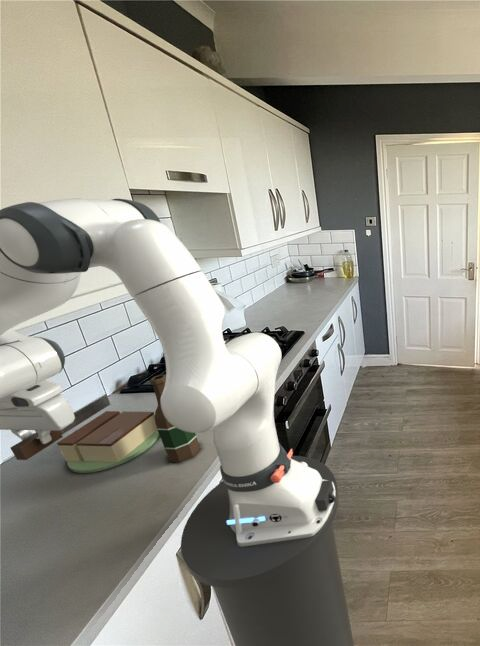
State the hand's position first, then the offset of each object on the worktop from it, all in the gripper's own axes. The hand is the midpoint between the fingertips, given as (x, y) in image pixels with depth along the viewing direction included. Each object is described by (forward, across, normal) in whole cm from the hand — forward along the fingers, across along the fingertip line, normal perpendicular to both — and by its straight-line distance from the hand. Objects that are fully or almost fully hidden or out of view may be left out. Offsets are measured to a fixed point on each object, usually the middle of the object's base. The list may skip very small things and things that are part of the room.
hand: (38, 441), depth 83 cm
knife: (+2, 0, +7) cm, 7 cm away
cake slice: (+12, -3, +13) cm, 18 cm away
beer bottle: (+13, +24, +11) cm, 30 cm away
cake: (+13, +2, +13) cm, 18 cm away
